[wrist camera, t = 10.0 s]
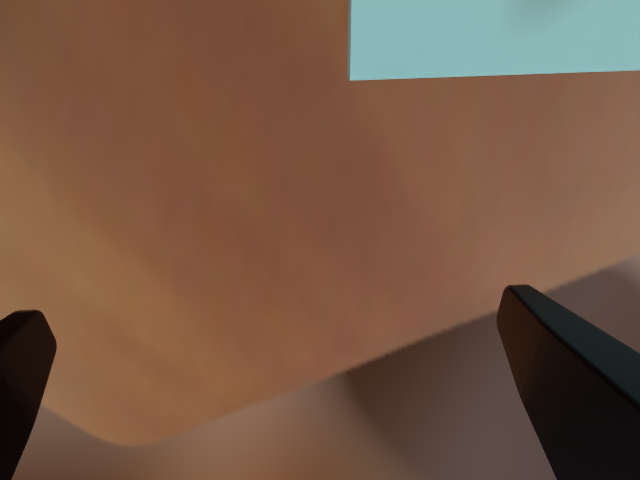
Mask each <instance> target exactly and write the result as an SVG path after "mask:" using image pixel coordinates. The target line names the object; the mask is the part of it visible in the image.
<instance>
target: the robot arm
mask: <svg viewBox="0 0 640 480" xmlns="http://www.w3.org/2000/svg"><path fill="white" fill-rule="evenodd" d="M497 327H498V331H499V334H500V337H501V340H502V343H503V346H504V350H505V352H506V356H507V359H508V362H509V365H510V368H511V371H512V374H513V378H514V381H515V384H516V387H517V390H518V392H519V395H520V398H521V400H522V403H523V405H524V407H525V409H526V412H527V414H528V416H529V419H530V421H531V423H532V425H533V428H534V430H535V432H536V434H537V437H538V439H539V441H540V443H541V446H542V448H543V450H544V452H545V454H546V457H547V459H548V461H549V463H550V466H551V468H552V470H553V472H554V475H555V477H556V479H557V480H640V353H638V352H637V351H635V350H634V349H632V348H630V347H629V346H627V345H625V344H624V343H622V342H621V341H619V340H617V339H616V338H614V337H612V336H611V335H609V334H608V333H606V332H604V331H603V330H601V329H599V328H598V327H596V326H595V325H593V324H591V323H590V322H588V321H586V320H585V319H583V318H582V317H580V316H578V315H577V314H575V313H573V312H572V311H570V310H568V309H567V308H565V307H563V306H562V305H560V304H559V303H557V302H555V301H554V300H552V299H550V298H549V297H547V296H546V295H544V294H542V293H541V292H539V291H538V290H536V289H534V288H533V287H531V286H529V285H509V286H507V287H506V288H505V289H504V291H503V295H502V298H501V302H500V306H499V309H498V313H497ZM55 354H56V340H55V337H54V335H53V333H52V331H51V329H50V327H49V325H48V323H47V321H46V318H45V316H44V315H43V313H42V312H41V311H39V310H19V311H15V312H13V313H11V314H10V315H8V316H7V317H5V318H3V319H2V320H0V480H12V477H13V475H14V472H15V470H16V468H17V465H18V463H19V460H20V458H21V456H22V453H23V451H24V449H25V446H26V444H27V441H28V439H29V436H30V434H31V431H32V428H33V426H34V423H35V420H36V417H37V414H38V411H39V408H40V404H41V401H42V398H43V394H44V391H45V387H46V384H47V381H48V377H49V374H50V371H51V367H52V364H53V360H54V357H55Z"/></svg>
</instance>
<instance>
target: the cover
mask: <svg viewBox="0 0 640 480" xmlns="http://www.w3.org/2000/svg"><path fill="white" fill-rule="evenodd" d="M632 70H640V0H348V66H347V75H348V77H349V79H350V80H377V79H406V78H434V77H462V76H490V75H519V74H547V73H575V72H604V71H632Z"/></svg>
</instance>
